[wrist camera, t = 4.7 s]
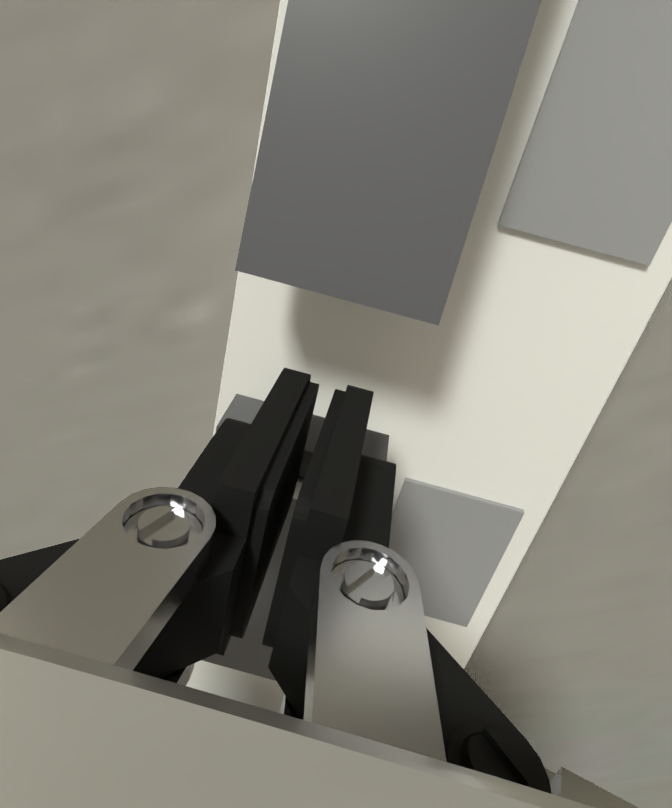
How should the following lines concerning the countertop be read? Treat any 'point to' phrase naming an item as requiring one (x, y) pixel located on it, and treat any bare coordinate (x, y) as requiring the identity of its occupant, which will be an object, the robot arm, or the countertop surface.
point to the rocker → (380, 145)
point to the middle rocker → (250, 649)
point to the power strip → (497, 318)
